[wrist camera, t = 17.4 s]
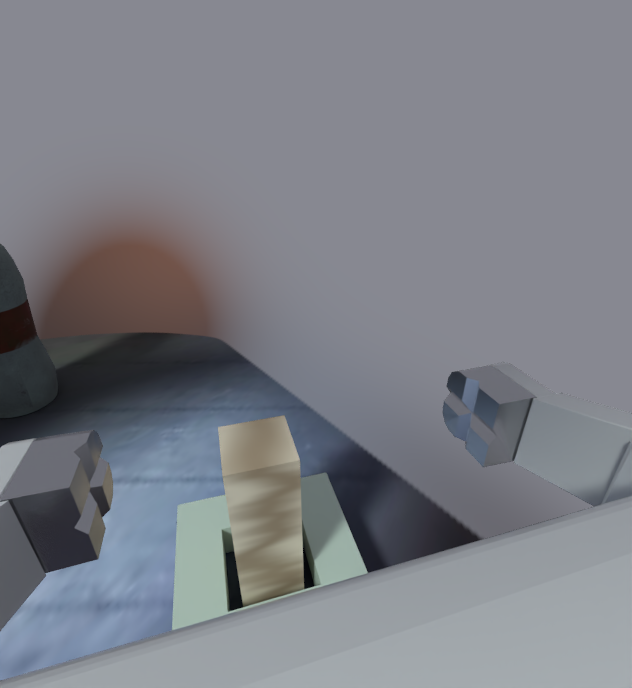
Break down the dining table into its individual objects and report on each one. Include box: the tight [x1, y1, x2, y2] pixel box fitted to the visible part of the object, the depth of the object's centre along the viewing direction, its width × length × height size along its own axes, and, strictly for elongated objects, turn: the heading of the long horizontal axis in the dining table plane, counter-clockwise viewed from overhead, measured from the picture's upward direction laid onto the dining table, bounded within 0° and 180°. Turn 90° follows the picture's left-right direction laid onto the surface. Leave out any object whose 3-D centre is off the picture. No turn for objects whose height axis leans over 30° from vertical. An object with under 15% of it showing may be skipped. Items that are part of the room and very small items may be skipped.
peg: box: [218, 416, 304, 607], centre depth 27 cm, size 4×4×14 cm
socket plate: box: [172, 473, 368, 630], centre depth 30 cm, size 14×14×3 cm
